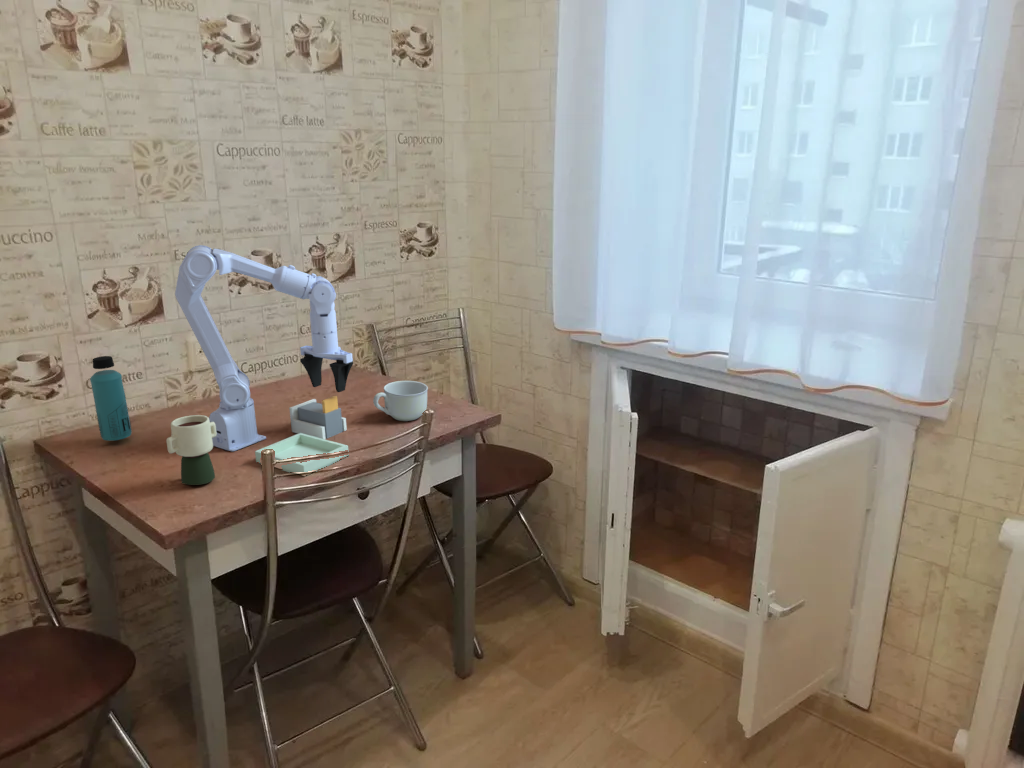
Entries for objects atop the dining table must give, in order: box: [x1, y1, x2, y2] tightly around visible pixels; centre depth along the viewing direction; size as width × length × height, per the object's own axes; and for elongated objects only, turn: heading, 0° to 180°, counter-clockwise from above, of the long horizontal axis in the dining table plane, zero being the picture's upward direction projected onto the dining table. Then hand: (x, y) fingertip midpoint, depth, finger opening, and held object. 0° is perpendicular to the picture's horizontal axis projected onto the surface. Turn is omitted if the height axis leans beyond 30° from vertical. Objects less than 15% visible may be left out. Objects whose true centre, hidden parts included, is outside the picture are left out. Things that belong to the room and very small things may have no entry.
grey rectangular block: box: [298, 395, 344, 439], centre depth 172 cm, size 5×9×9 cm, turn 58°
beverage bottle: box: [89, 355, 133, 442], centre depth 165 cm, size 6×7×20 cm
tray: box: [254, 433, 350, 473], centre depth 157 cm, size 13×15×2 cm
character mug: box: [166, 414, 217, 486], centre depth 145 cm, size 11×7×13 cm, turn 150°
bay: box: [288, 398, 347, 440], centre depth 173 cm, size 8×10×6 cm
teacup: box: [372, 380, 429, 422], centre depth 181 cm, size 14×11×8 cm
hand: (328, 388), depth 171 cm, fingers open, 7 cm apart
